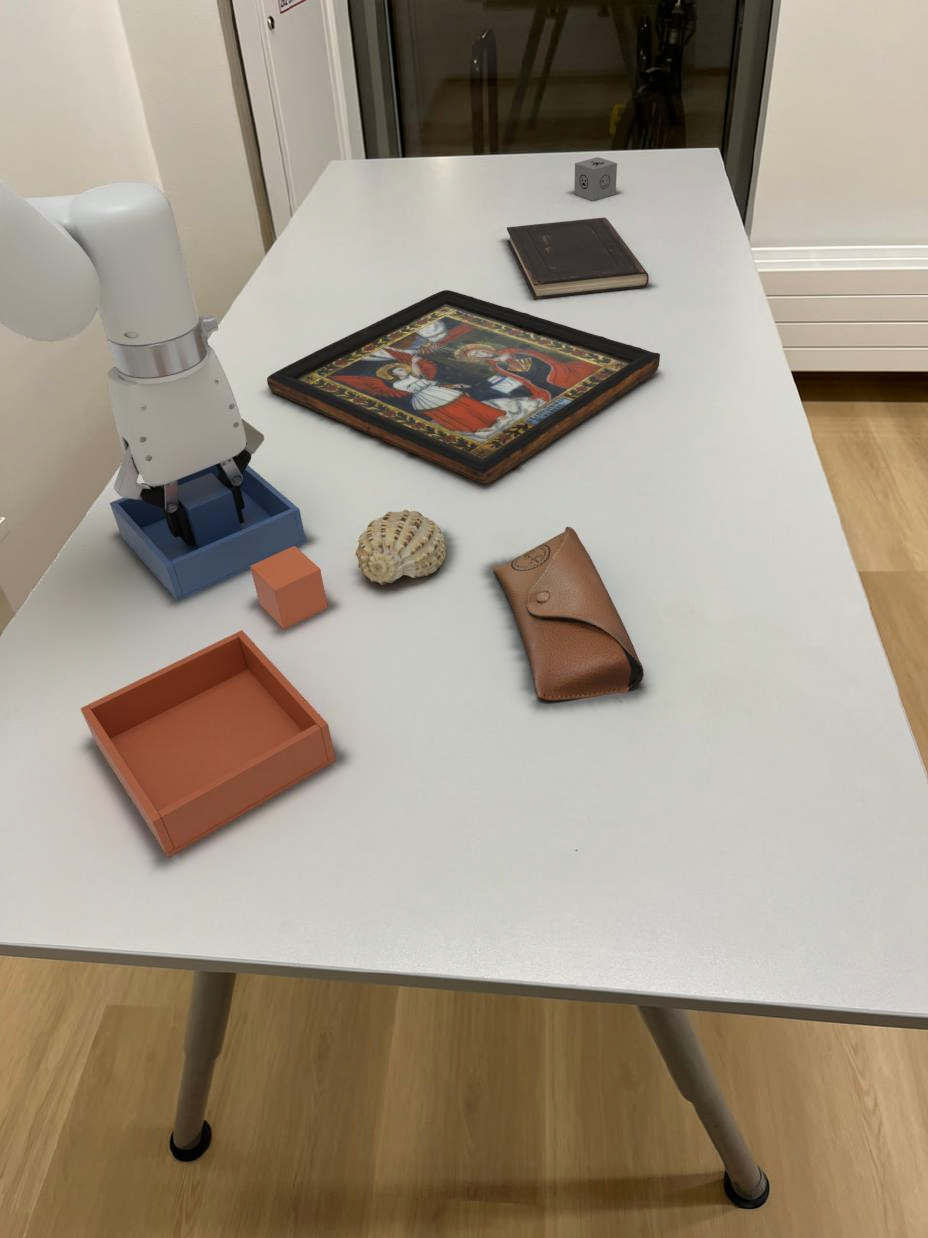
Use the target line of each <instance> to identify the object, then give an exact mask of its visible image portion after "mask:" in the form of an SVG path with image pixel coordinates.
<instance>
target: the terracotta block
mask: <svg viewBox="0 0 928 1238" xmlns="http://www.w3.org/2000/svg"><path fill="white" fill-rule="evenodd" d="M250 572H251V575H252V579H253V584H254V588H255V592H256V596H257V600H258V603H259V606H260V607H261V608H262V609H263V610H264V611H265V612H266V613H267V614H268V615H269V616H270V617H271V618H272V619H273V620H274V621H275V622H276V623H277V625H279V626H280V627H281V629H283V630H286V629H288V628H289V627H292V626H294V625H296V624H298V623H300V622H302V621H304V620H306V619H308V618H310V617H312V616H314V615H316V614H318V613H320V612H322V611H324V610H327V609H328V608H329V606H328V602H327V597H326V591H325V586H324V581H323V576H322V570H321V568H320V567H319V566H318V565H317V564H316V563H315V562H313V561H312V560H311V559H310V558H309V557H308V556H307V555H306V554H305V553H304V552H302V551H301V550H300V549H299V548H298V547H296V546H293V547H291V548H288V549H286V550H284V551H282V552H280V553H277V554H275V555H273V556H271V557H269V558H266V559H264V560H262V561H260V562H258V563H255V564H253V565H251V566H250Z"/></svg>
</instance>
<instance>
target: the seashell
mask: <svg viewBox="0 0 928 1238" xmlns="http://www.w3.org/2000/svg"><path fill="white" fill-rule="evenodd" d="M357 542H358V547H357V548H356V550H355V557H356V559H357V561H358V569H360V570H361V574H362V575H365V576H366V577H367V578H368V579H369V580H370V582H371V583H377V584H379V585H382V586H384V585H386V584H392V583H394V582H395V581H397V580H398V579H400V578H401V577H402V576H408V577H410V578H413V579H415V578H420V577H426V576H429V575H431V574H433V573H435V572H436V571H437V570H438V569H440V567H441V566H442V565H443V563H444V562H445V559H446V555H447V545H446V541H445V536H444V534H443V533H442V531H441V528H440V526H439V525H438V524H437V523H436V522H435V521H433V520H432V519H430V518H428V517H426V516H424V515H423V514H422V513H421V512H420V511H416V510H411V511H409V510H407V509H404V510H401V511H388V512H386V513H385V514H384V515H383V516H380V517H379V518H377V519H374V520H372V521H370V522H369V523H368V525H367V528H366V529H365V530H364V531H363V532H362V533H361V534H360V535H359V537H358V540H357Z"/></svg>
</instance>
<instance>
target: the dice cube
mask: <svg viewBox="0 0 928 1238" xmlns="http://www.w3.org/2000/svg"><path fill="white" fill-rule="evenodd" d="M617 172H618V163H617V162H614V161H612V160H608V159H606V158H602V157H599V156H597V157H593V158H589V159H585V160H581V161H578V162H575V163H574V189H573V190H574V192H573V194H574V195H575V196H578V197H580V198H583V199H587V200H589V201H591V202H594V201H598V200H601V199H605V198H608V197H611V196H615V195H617V174H618V173H617Z"/></svg>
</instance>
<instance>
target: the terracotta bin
mask: <svg viewBox="0 0 928 1238" xmlns="http://www.w3.org/2000/svg"><path fill="white" fill-rule="evenodd" d="M80 712H81V714H82V716H83V719H84V720H85V723H86V725H87V727H88V729H89V731H90V733H91V735H92V737H93V740H94V743H95V745H96V746H97V747H98V749H99V751H100V752H101V754H102V756H103V757H104V759H105V761H106V762H107V764H108V765H109V767H110V768H111V770H112V772H113V773H114V775H115V776H116V778H117V779H118V781H119V782H120V784H121V786H122V787H123V789H124V790H125V792H126V794H127V795H128V797H129V798H130V800H131V801H132V803H133V805H134V806H135V808H136V810H137V811H138V812H139V814H140V816H141V817H142V819H143V821H144V822H145V824H146V825H147V827H148V828H149V830H150V832H151V833H152V835H153V837H154V838H155V839H156V841H157V843H158V844H159V846H160V848H161V849H162V851H163V853H164V854H165V855H166V857H167V858H170V857H172V856H174V855H175V854H177V853H179V852H181V851H182V850H184V849H186V848H187V847H189V846H191V845H192V844H194V843H196V842H198V841H200V840H201V839H203V838H205V837H207V836H208V835H210V834H212V833H213V832H215V831H217V830H219V829H220V828H222V827H224V826H226V825H227V824H229V823H231V822H232V821H234V820H236V819H238V818H240V817H241V816H243V815H244V814H246V813H248V812H249V811H252V810H253V809H255V808H257V807H258V806H260V805H262V804H263V803H266V802H267V801H269V800H270V799H272V798H274V797H275V796H277V795H279V794H280V793H282V792H284V791H286V790H288V789H290V788H291V787H293V786H295V785H297V784H298V783H300V782H301V781H303V780H305V779H307V778H308V777H310V776H312V775H313V774H315V773H317V772H319V771H321V770H322V769H324V768H326V767H327V766H329V765H331V764H333V763H335V762H336V761H337V759H336V754H335V750H334V745H333V740H332V736H331V731H330V727H329V724H328V722H327V721H326V720H325V719H324V718H323V717H322V716H321V714H320V713H318V711H317V710H316V709H315V708H314V707H313V706H312V705H311V704H310V703H309V701H308V700H306V698H305V697H304V696H303V694H301V692H299V691H298V689H297V688H295V686H294V685H293V684H292V683H291V682H290V681H289V679H287V678H286V676H285V675H284V674H283V673H282V672H281V671H280V670H279V668H278V667H276V666H275V664H274V663H273V662H272V661H271V659H269V658H268V657H267V656H266V654H265V653H264V652H263V651H262V650H261V649H260V648H259V647H258V646H257V644H255V642H253V640H252V639H251V638H250V637H249V636H248V635H247V634H246V633H245V631H244V630H242V629H241V630H239V631H237V632H235V633H233V634H231V635H229V636H227V637H224V638H222V639H221V640H219V641H216V642H214V643H211V644H210V645H208V646H206V647H204V648H202V649H200V650H198V651H196V652H194V653H192V654H190V655H187V656H185V657H183V658H181V659H179V660H177V661H175V662H173V663H171V664H169V665H166V666H165V667H162V668H160V669H158V670H157V671H154V672H152V673H151V674H149V675H146V676H144V677H142V678H140V679H137V680H136V681H134V682H132V683H130V684H127V685H125V686H124V687H122V688H119V689H117V690H115V691H112V692H110V693H109V694H107V695H105V696H103V697H101V698H98V699H96V700H94V701H92V702H91V703H88V704H87V705H84V706H82V707H81V708H80Z"/></svg>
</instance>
